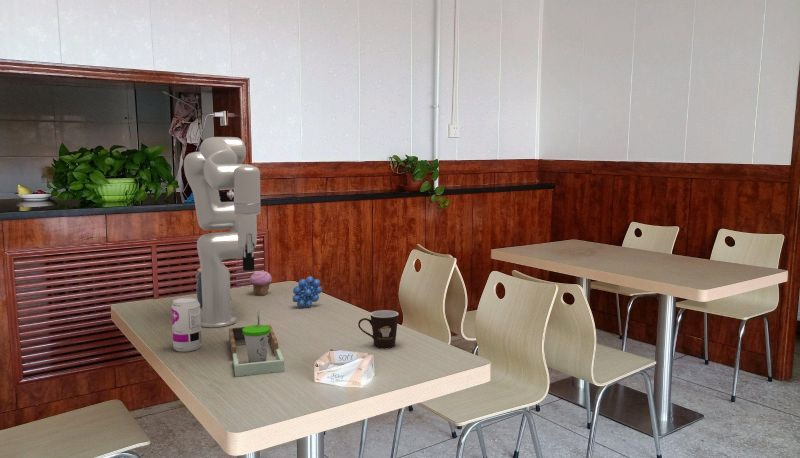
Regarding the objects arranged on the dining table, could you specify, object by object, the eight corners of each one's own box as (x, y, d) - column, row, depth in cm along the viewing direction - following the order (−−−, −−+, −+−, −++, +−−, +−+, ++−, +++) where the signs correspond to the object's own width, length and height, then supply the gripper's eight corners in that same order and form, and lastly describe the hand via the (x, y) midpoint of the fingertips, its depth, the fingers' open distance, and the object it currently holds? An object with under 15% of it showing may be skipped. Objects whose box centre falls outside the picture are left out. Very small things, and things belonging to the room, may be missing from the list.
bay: (233, 363, 176) (232, 353, 176) (279, 359, 180) (279, 349, 180) (235, 376, 166) (234, 365, 166) (284, 371, 170) (284, 360, 170)
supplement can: (175, 354, 185) (173, 304, 183) (171, 346, 192) (169, 298, 190) (203, 350, 189) (201, 301, 187) (199, 342, 196) (196, 295, 194)
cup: (257, 371, 171) (256, 317, 169) (237, 365, 175) (235, 313, 173) (277, 362, 177) (276, 311, 175) (257, 358, 181) (255, 307, 179)
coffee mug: (402, 342, 195) (402, 311, 194) (393, 351, 187) (392, 318, 186) (367, 339, 199) (367, 308, 198) (357, 347, 191) (356, 315, 190)
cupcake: (247, 296, 258) (246, 272, 257) (255, 291, 267) (254, 268, 266) (267, 297, 257) (267, 273, 256) (275, 292, 265) (274, 269, 264)
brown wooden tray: (229, 340, 198) (228, 328, 198) (271, 336, 202) (270, 324, 201) (232, 360, 179) (232, 347, 179) (278, 356, 183) (278, 342, 183)
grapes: (318, 303, 246) (318, 273, 245) (324, 307, 240) (323, 276, 239) (289, 306, 241) (289, 275, 240) (294, 310, 235) (293, 279, 234)
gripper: (232, 206, 189) (234, 265, 192) (235, 212, 175) (237, 276, 178) (258, 205, 191) (259, 264, 194) (263, 211, 177) (264, 275, 180)
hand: (248, 269), depth 186 cm, fingers closed
